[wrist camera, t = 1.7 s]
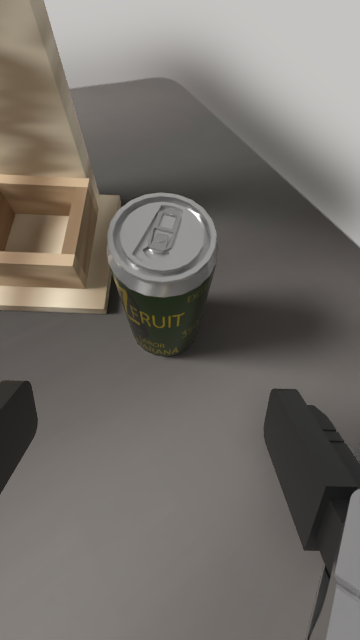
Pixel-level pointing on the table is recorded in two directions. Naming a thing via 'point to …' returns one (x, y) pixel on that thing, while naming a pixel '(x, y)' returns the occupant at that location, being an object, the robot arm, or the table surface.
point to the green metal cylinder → (162, 268)
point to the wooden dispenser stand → (46, 178)
